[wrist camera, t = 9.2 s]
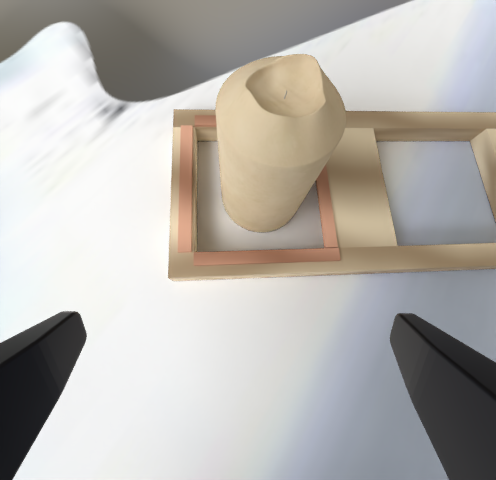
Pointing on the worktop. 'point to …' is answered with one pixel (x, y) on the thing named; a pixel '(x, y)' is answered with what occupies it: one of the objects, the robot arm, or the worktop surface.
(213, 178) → the worktop surface
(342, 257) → the rail frame
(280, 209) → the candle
